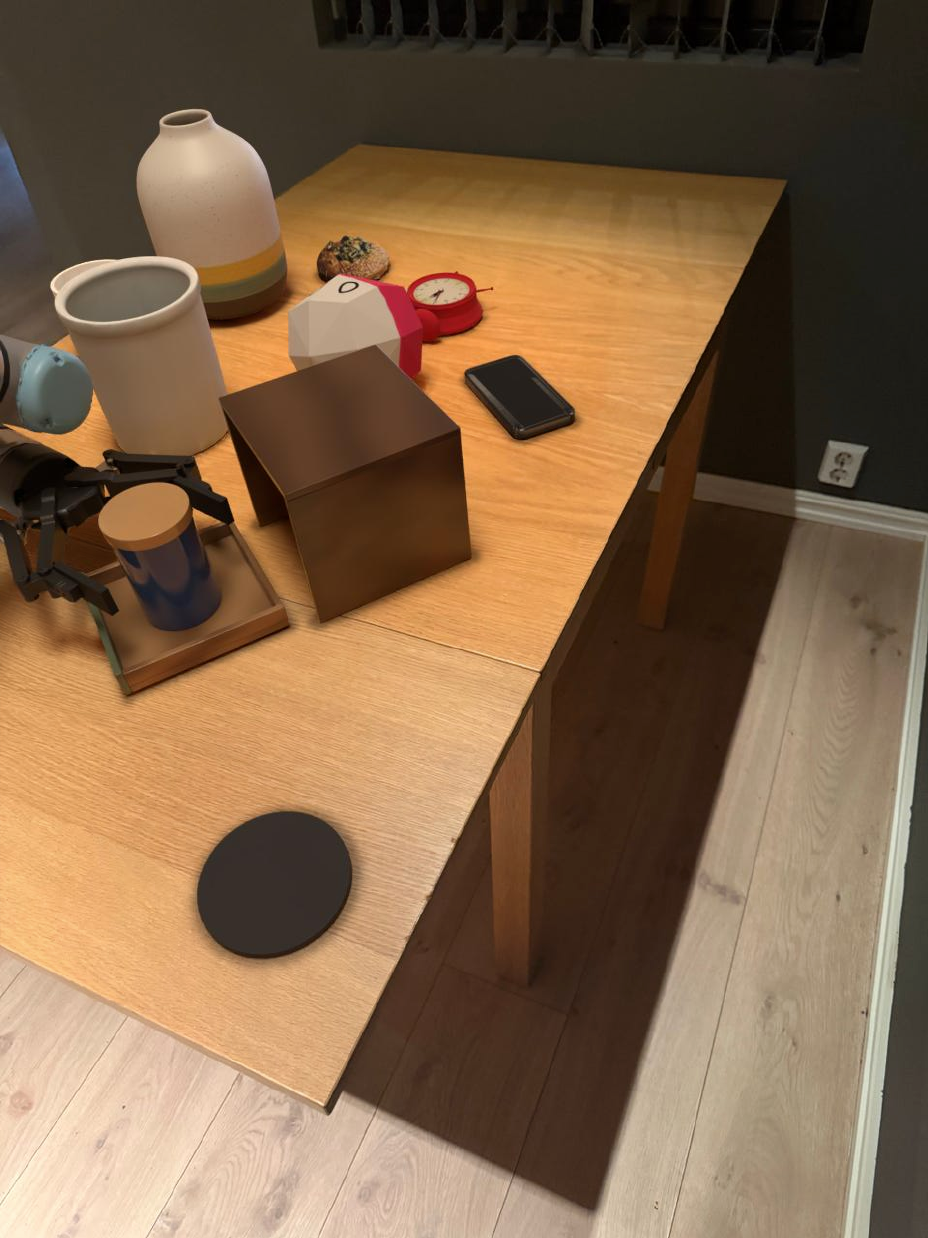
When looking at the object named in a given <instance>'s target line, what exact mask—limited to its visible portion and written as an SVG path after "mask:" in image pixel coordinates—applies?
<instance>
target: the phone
mask: <svg viewBox="0 0 928 1238" xmlns="http://www.w3.org/2000/svg"><path fill="white" fill-rule="evenodd" d="M463 375H464V383H465V384H466V385H467V386H468V388H469V389H470V390H471V391H472V392H473V393H474V394H475V395H476V397H477V398H478V399H479V400H480V401H481V403H482V404H483V405H484V406H485V407H486V408H487V409H488V411H490V413H491V414H492V415H493V416H494V417H495V418H496V420H498V422H499V423H500V424H501V425H502V427H504V428H505V430H506V431H507V432H508V433H509V434H510V435H511V437H512V438H514V439H517V440H526V439H529V438H532V437H536V436H538V435H542V434H544V433H547V432H550V431H553V430H556V429H559V428H561V427H565V426H568V425H570V424H573V423H574V422H575V420H576V408H575V407H573V405H572V404H571V403H569V401H567V399H565V398H564V396H563V395H561V393H560V392H558V391H557V389H555V387H553V386H552V384H551V383H549V382H548V380H546V379H545V377H544V376H542V375H541V374H540V372H539V371H537V370H536V369H535V368H534V366H532V365H531V364H530V363H529V361H527V360H526V359H525V358H524V357H523V356H522V355H519V354H511V355H507V356H504V357H501V358H498V359H494V360H491V361H488V362H485V363H481V364H478V365H475V366H471V367H469V368H467V369H465V371H464V373H463Z"/></svg>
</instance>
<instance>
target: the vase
mask: <svg viewBox="0 0 928 1238" xmlns="http://www.w3.org/2000/svg"><path fill="white" fill-rule="evenodd" d="M158 123H159V134H158V135H157V137H156V138H155V139H154V141H153V142H152V143H151V144H150V145H149V147H147V149H146V151H145V152H144V154H143V156H142V157H141V159H140V161H139V164H138V167H137V170H136V193H137V198H138V202H139V206H140V209H141V212H142V215H143V218H144V222H145V226H146V228H147V231H148V234H149V237H150V240H151V243H152V246H153V249H154V252H155V255H156V256H160V257H169V258H174V259H178V260H181V261H183V262H186V263H188V264H189V265H191V266H192V267H193V268H194V269H195V270H196V272H197V274H198V277H199V281H200V286H201V291H200V294H201V298H202V301H203V305H204V308H205V312H206V316H207V320H219V321H220V320H233V319H239V318H243V317H246V316H251V315H254V314H256V313H258V312H261V311H263V310H264V309H266V308H268V307H269V306H271V305H272V304H273V303H274V302H276V301H277V300H278V299H279V298H280V297H281V295H282V293H283V292H284V290H285V287H286V284H287V278H288V261H287V255H286V249H285V245H284V240H283V235H282V230H281V225H280V221H279V217H278V212H277V207H276V203H275V198H274V195H273V190H272V186H271V181H270V178H269V175H268V171H267V168H266V166H265V164H264V162H263V160H262V158H261V157H260V155H259V154H258V152H257V151H256V149H255V148H254V147H253V146H252V145H251V144H250V143H249V142H248V141H246V140H245V139H244V138H243V137H241V136H239V135H237V134H236V133H234V132H233V131H231V130H228V129H226V128H225V127H223V126H220V124H217V123H216V122H215V120H214V117H213V116H212V114H211V112H210V111H209V110H206V109H201V108H200V109H199V108H198V109H197V108H192V109H182V110H177V111H174V112H171V113H167V114H166V115H164V116H163V117H161V118H160V119H159V122H158Z"/></svg>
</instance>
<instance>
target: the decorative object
mask: <svg viewBox="0 0 928 1238" xmlns="http://www.w3.org/2000/svg"><path fill="white" fill-rule="evenodd" d="M287 317H288V318H287V331H288V333H287V334H288V337H287V340H288V357H289V359H290V361H291V363H292V365H293V367H294V369H295V371H299V370H302V369H305V368H308V367H311V366H314V365H317V364H320V363H323V362H326V361H328V360H331V359H334V358H337V357H340V356H343V355H346V354H349V353H352V352H355V351H358V350H361V349H364V348H367V347H370V346H373V345H377V346H378V347H379V348H380V349H381V350H382V351H383V352H384V353H385V354H386V355H387V356H388V357H389V358H390V359H391V360H392V361H393V362H394V363H395V364H396V365H397V366H398V367H399V368H400V369H401V370H402V371H403V372H404V373H405V374H406V375H407V376H408V377H409V378H410V379H411V380H413V379H414V378H415V377H416V376H417V375H418V374H419V373H421V371H422V359H423V358H422V357H423V341H422V339H423V326H422V324H421V322H420V320H419V318H418V315H417V313H416V311H415V309H414V307H413V305H412V303H411V301H410V298H409V296H408V294H407V289H406V288H405V286H403V285H399V284H393V283H389V282H384V281H378V280H376V279H374V280H370V279H365V278H361V277H356V276H351V275H346V274H341V273H340V274H339V275H337V276H336V277H334V278H333V279H332V280H330V281H327V282H326V283H324V284H323V285H321V286H320V287H319V288H318V289H316V290H315V291H314V292H313V293H310V295H308V296H307V297H305V298H304V299H302V300H300V302H299V303H297V304H296V305H294V306H292V308H290V309H289V310H287Z"/></svg>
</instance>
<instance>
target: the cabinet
mask: <svg viewBox="0 0 928 1238" xmlns="http://www.w3.org/2000/svg"><path fill="white" fill-rule="evenodd" d="M219 402H220V404H221V408H222V411H223V414H224V417H225V421H226V424H227V427H228V433H229V437H230V439H231V443H232V446H233V449H234V453H235V456H236V459H237V462H238V465H239V468H240V471H241V474H242V478H243V482H244V484H245V488H246V490H247V495H248V497H249V500H250V504H251V506H252V509H253V513H254V515H255V519H256V523H257V524H258V526H259V527H262V526H264V525H267V524H270V523H272V522H275V521H278V520H280V519H282V518H285V517H288V516H289V520H290V524H291V528H292V531H293V535H294V537H295V542H296V546H297V549H298V553H299V557H300V560H301V563H302V567H303V571H304V574H305V577H306V581H307V585H308V588H309V592H310V596H311V600H312V602H313V607H314V610H315V613H316V618H317V620H318V621H319V623H320V624H322V623H325V622H327V621H329V620H331V619H334V618H336V617H339V616H341V615H344V614H346V613H347V612H350V611H353V610H355V609H356V608H359V607H361V606H364V605H366V604H368V603H371V602H373V601H375V600H377V599H380V598H382V597H385V596H387V595H389V594H392V593H394V592H396V591H398V590H401V589H403V588H406V587H407V586H410V585H413V584H414V583H417V582H419V581H421V580H424V579H426V578H429V577H431V576H434V575H436V574H438V573H440V572H442V571H444V570H447V569H450V568H451V567H454V566H456V565H458V564H461V563H463V562H465V561H467V560H470V559H472V558H473V556H472V545H471V535H470V523H469V512H468V511H469V510H468V499H467V498H468V497H467V489H466V488H467V487H466V477H465V465H464V454H463V443H462V430H461V427H460V425H458V424H457V423H456V422H455V421H454V419H452V418H451V417H450V416H449V415H448V413H446V412H445V411H444V410H443V409H442V408H441V407H440V406H439V405H438V404H437V403H436V402H435V401H434V400H433V399H432V398H431V397H430V396H429V395H428V394H427V393H426V392H425V391H424V390H423V389H422V388H421V387H420V386H419V385H418V384H417V383H416V382H415V381H414V380H413V379H410V378H409V377H408V376H407V375H406V374H405V373H404V372H403V371H402V370H401V369H400V368H399V367H398V366H397V365H396V364H395V363H394V362H393V361H392V360H391V359H390V358H389V357H388V356H387V355H386V354H385V353H384V352H383V351H382V350H381V349H380V348H379V347H378V346H377V345H373V346H370V347H367V348H364V349H361V350H358V351H355V352H352V353H349V354H346V355H343V356H340V357H337V358H334V359H331V360H328V361H326V362H323V363H320V364H317V365H314V366H311V367H308V368H305V369H302V370H299V371H297V370H295V371H294V372H293V371H292V372H290V373H288V374H283V375H282V376H279V377H276V378H273V379H270V380H267V381H263V382H261V383H258V384H255V385H252V386H249V387H246V388H243V389H241V390H238V391H235V392H232V393H229V394H227V395H226V396H223V397H220V398H219Z"/></svg>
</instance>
